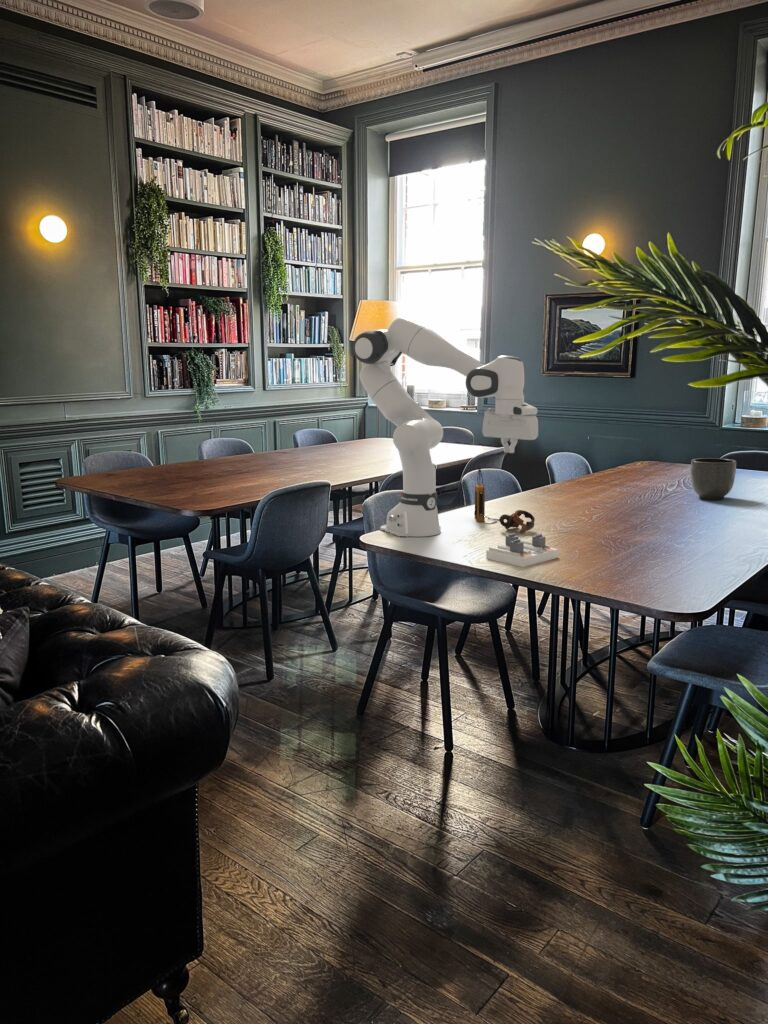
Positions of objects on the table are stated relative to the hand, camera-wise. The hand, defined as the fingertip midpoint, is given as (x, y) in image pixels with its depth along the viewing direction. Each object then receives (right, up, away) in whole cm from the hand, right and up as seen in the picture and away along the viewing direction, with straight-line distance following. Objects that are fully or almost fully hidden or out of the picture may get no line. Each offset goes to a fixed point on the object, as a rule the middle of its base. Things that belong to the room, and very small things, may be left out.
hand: (509, 452), depth 241 cm
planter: (+97, -13, +78) cm, 126 cm away
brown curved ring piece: (+6, -26, +23) cm, 35 cm away
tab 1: (-1, -31, -19) cm, 36 cm away
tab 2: (+7, -29, -13) cm, 33 cm away
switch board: (+2, -32, -14) cm, 35 cm away
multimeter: (-1, -22, +42) cm, 47 cm away
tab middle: (-1, -29, -12) cm, 31 cm away
